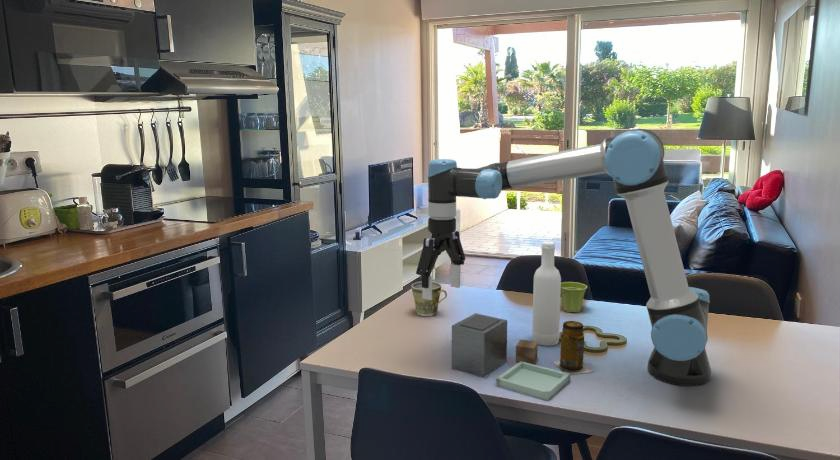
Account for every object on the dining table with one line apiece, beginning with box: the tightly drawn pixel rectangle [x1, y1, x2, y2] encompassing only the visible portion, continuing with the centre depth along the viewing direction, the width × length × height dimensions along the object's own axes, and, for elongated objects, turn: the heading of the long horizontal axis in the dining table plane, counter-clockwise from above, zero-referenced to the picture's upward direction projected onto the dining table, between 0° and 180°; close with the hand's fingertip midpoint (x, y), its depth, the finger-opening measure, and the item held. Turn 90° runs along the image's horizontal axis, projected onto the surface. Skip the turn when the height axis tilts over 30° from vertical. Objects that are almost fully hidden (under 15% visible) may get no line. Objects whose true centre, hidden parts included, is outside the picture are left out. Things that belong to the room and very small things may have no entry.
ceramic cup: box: [411, 280, 448, 317], centre depth 209 cm, size 13×10×10 cm
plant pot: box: [560, 281, 588, 314], centre depth 212 cm, size 9×9×9 cm
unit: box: [451, 313, 508, 378], centre depth 168 cm, size 10×12×12 cm
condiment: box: [553, 320, 593, 375], centre depth 166 cm, size 7×8×12 cm
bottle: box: [531, 240, 562, 347], centre depth 183 cm, size 8×8×30 cm
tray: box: [495, 361, 571, 402], centre depth 158 cm, size 14×13×2 cm
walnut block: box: [515, 339, 539, 365], centre depth 171 cm, size 5×5×5 cm
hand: (441, 292), depth 173 cm, fingers open, 13 cm apart
